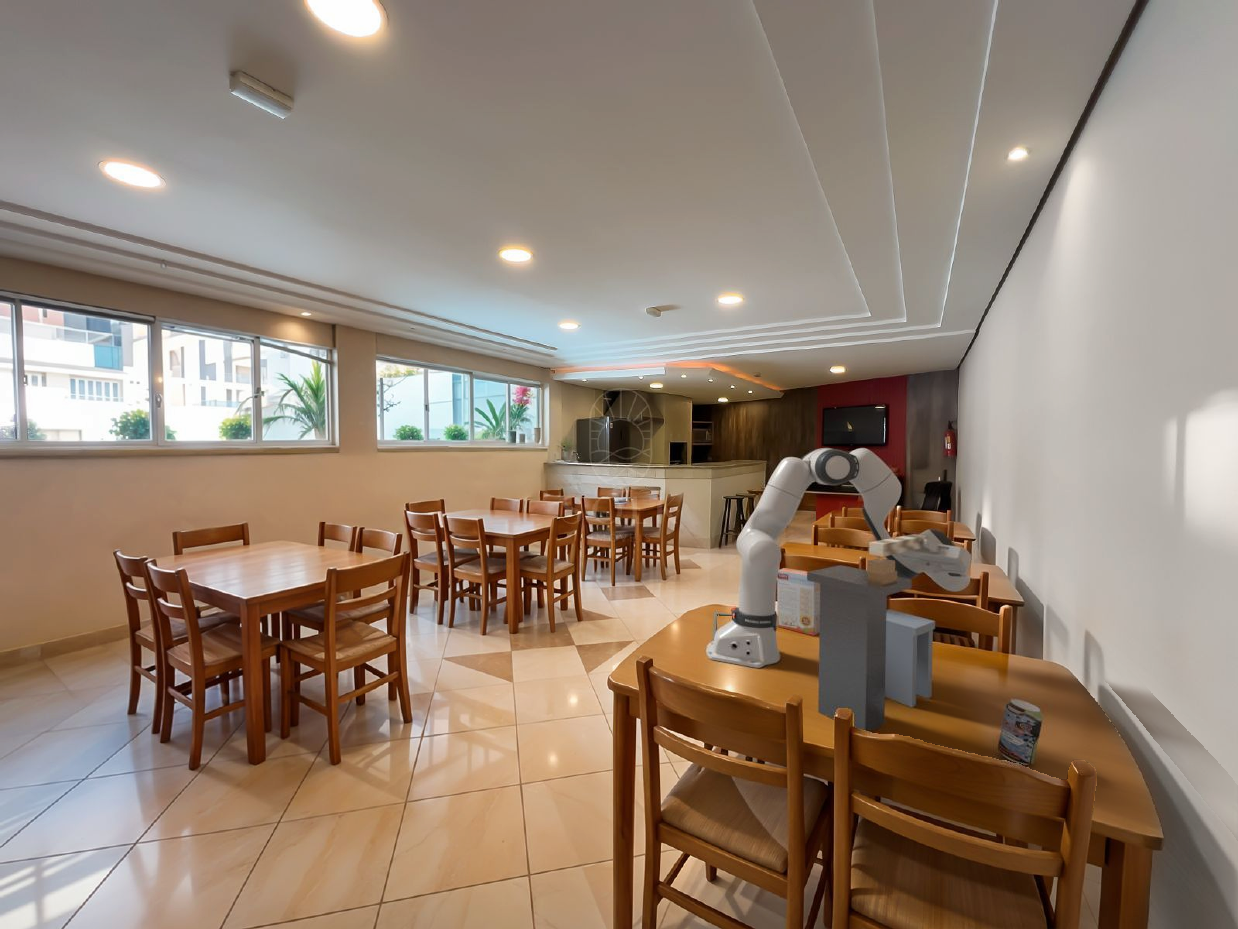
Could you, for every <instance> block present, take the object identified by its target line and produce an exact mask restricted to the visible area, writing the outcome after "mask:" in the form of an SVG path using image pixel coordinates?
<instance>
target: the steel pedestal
mask: <svg viewBox="0 0 1238 929" xmlns="http://www.w3.org/2000/svg"><path fill="white" fill-rule="evenodd" d="M866 567H867V569H861V568H857V567H851V566H846V565H842V564H839V565H834V566H830V567H826V568H821V569H816V570H810V571H806V572H807V580H808V581H812V582H816V583H820V632H819V633H818V634H819V640H818V642H819V643H818V644H819V645H818V646H819V647H818V649H819V650H818V704H817V707H818V709H817V712H818V713H820V714H821V715H823V714H824V716H825V715H827V716H829V717H828V718H830V719H832V720H834V719H833V718H834V715H835V712H836V710H837V709H838V708H848V709H851V710H852V712H853V713H854V727H856V728H859V729H862V730H866V731H871V732H873V731H875V730H876V729H879V728H880V727H882V726H884V725H885V719H886V718H885V715H886V714H885V712H886V711H885V708H886V707H885V705H886V704H885V703H886V701H885V700H886V697H885V665H886V612H887V610H888V609H887V608H888V607H887V606H888V605H887V602H888V601H887V600H888V599H887V598H888V596H890V595H893V594H896V593H899V592H903V591H907V590H910V589H912V579H905V578H900V577H897V571H895V561H893V560H887V559H886V558H880V557H879V558H874V559H869V560H867V566H866ZM827 716H826V717H827Z"/></svg>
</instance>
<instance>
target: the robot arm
mask: <svg viewBox="0 0 1238 929" xmlns="http://www.w3.org/2000/svg"><path fill="white" fill-rule="evenodd" d="M846 482H850V483H851V485H853V486H854V488H855V489H856V490H857V492H859V494H860V495H861V497H862V500H863V506H862V508H861V513H862V515H863V516H862V517H863V518H864V520H865V522H866V524H867V526H868V528H869V529H870V532H871V533H872V536H873V537H874V539H875V541H879V540H884V539H890V538H894V536H893V537H892V536H890V534H889V532H888V531H887V529H886V527H885V521H886V519H887V517H888V515H889V514H890V513H891V512H892V510H893V509H894V508H895V507H896V505H897V503H898V502H899V500H900V497H901V496H902V495H901V494H902V484H901V482H900V480H899V479H898V477H897V476H896V474H895V473H894V472H893V471H892V469H890V467H889V466H888V465H887V464H886V463H885V462H884V461H883V460H882V459H881V458H880V457H879V456H877V455H876V453H874V452H873V451H872V450H870V449H868V448H865V447H860V448H856V449H854V450H851V451H850V452H847V451H844V450H841V449H838V448H837V449H836V448H830V447H823V448H822V447H821V448H815V449H812V450H811V451H809V452H807V453H806V454H804V455H803V456H802V457H800V458H799V457H794V456H788V457H784V458H783V459H782V460H781V461H780V462H779V463H778V465H777V467H775V469H774V471H773V473H772V474H771V475H770V478H769V479H768V482H767V484H766V485H765V488H764V490H763V492H762V494H761V496H760V499H759V501H758V503H757V505H756V507H755V508H754V511H753V512H752V514H751V515H750V516H749V519H748V520H747V521H746V523H745V525H744V527H743V528H742V530H741V532H740V533H739V535H738V536H737V539H736V543H735V544H736V545H735V546H736V550H737V553H738V554H739V556H740V557H741V571H740V572H741V573H740V577H739V578H740V579H739V580H740V581H739V583H738V607H737V606H734V605H733V606H732V607H730V613H731V614H732V620H731V621H730V622H728V623H726V624H725V625H723V626H722V627H720V628H719V629H718V630H717V631H716V633H715V636H714V641H713V640H712V641H710V642H709V643H708V644H707V645H706V651H705V653H706V657H707V658H708V659H710V660H712V661H718V662H723V663H728V664H734V665H739V666H746V667H751V668H756V669H759V668H762V667H764V666H768V665H772V664H776V663H778V662H779V661H780V660H781V655H780V650H779V647H778V640H777V639H778V638H777V629H778V626H777V610H776V605H777V603H776V602H777V601H776V600H777V599H776V598H777V596H776V593H777V592H776V590H777V583H778V571H779V570H780V563H781V560H782V551H781V547H780V545H779V543H778V542H777V541H778V539H779V538H780V536H781V535H782V534H783V532H784V530H785V529H787V527H788V526H789V525H790V524H791V523H792V520H793V518H794V517H795V514H796V512H797V510H798V508H799V506H800V504H801V501H802V499H803V497H804V494H805V492H806V490H807V489H808V488H809V487H810V485H812V483H818V484H821V485H824V486H825V485H826V486H828V485H829V486H838V485H842V484H845V483H846ZM918 535H925V536H928V539H921V542H920V545H921V546H922V547H925V548H920V549H916V550H911V551H907V552H902V553H897V554H893V555H888V556H884V557H885V559H887V560H893V561H895V571H897V577H900V578H905V579H910V580H912V579H914V578H916V577H917V576H919V575H920V574H922V573H925V574H926V575H927V576H928V577H930V578H931V579H932V581H933V582H935V583H936V584H937V585H939V586H940V587H941V588H943V589H944V590H946V591H950V592H960V591H962V590H964V589H966V588H967V587H968V586H969V584H970V582H971V577H970V573H969V570H970V568H971V563H972V554H971V553H970V552H969V551H968V550H967V549H966V548H964V547H962V546H956V545H955V542H953V541H952V540H951V539H950V538H948V536H947V535H946V534H945V533H944V531H942V530H938V529H935V528H934V529H933V528H929V529H926V530H924V531H923V532H921V533H919V534H918Z"/></svg>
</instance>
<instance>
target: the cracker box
mask: <svg viewBox="0 0 1238 929" xmlns="http://www.w3.org/2000/svg"><path fill="white" fill-rule="evenodd" d="M807 572H808V571H806V570H799V569H793V568H790V567H789V568H787V567H783V568H781V569H780V568H779V571H778V577H777V585H776V590H777V592H776V593H777V596H776V598H777V599H776V600H777V601H776V602H777V603H776V606H777V608H776V613H777V628H782V629H785V630H790V631H793V632H797V633H800V634H805V635H808V636H812V637H814V636H816V635H818V634H819V632H820V583H816V582H812V581H808V580H807Z"/></svg>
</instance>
